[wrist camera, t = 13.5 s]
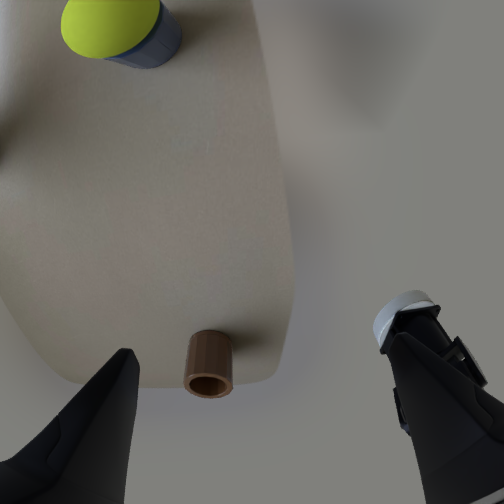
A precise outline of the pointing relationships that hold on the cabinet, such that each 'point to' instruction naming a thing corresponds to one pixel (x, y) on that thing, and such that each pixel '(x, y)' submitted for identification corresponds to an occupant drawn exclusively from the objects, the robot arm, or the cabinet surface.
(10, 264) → the cabinet surface
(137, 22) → the ball
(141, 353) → the cabinet surface
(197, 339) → the brown cup
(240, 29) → the cabinet surface
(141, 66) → the blue cup
